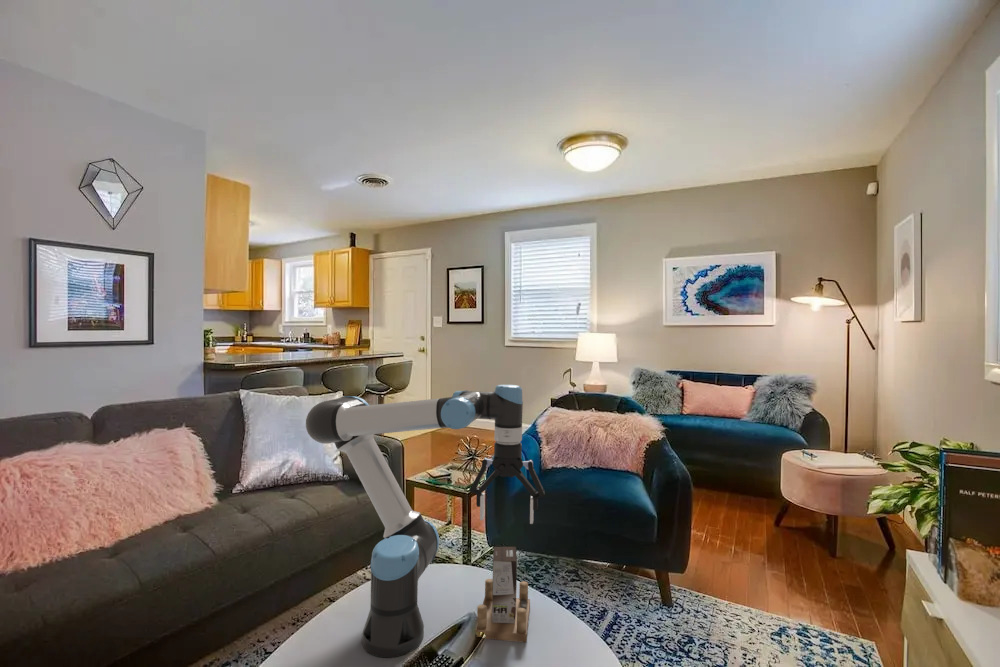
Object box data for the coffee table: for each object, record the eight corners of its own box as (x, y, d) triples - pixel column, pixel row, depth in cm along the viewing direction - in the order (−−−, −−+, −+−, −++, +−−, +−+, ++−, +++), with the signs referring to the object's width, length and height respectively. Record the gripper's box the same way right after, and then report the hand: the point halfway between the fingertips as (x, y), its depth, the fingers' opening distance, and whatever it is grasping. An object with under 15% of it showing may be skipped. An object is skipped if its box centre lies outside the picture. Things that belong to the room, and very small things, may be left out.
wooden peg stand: (475, 637, 117) (475, 609, 117) (484, 602, 133) (485, 578, 133) (526, 642, 116) (526, 614, 116) (529, 606, 131) (530, 581, 132)
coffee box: (516, 624, 120) (517, 561, 120) (491, 623, 120) (492, 560, 120) (515, 604, 129) (516, 546, 129) (492, 603, 129) (493, 545, 129)
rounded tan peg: (527, 607, 126) (528, 591, 126) (519, 607, 127) (519, 590, 127) (527, 597, 131) (528, 581, 131) (519, 597, 132) (519, 581, 132)
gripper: (460, 442, 124) (458, 522, 123) (553, 447, 120) (552, 528, 120) (466, 437, 131) (464, 512, 131) (554, 441, 128) (553, 518, 127)
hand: (506, 520), depth 125 cm, fingers open, 13 cm apart
